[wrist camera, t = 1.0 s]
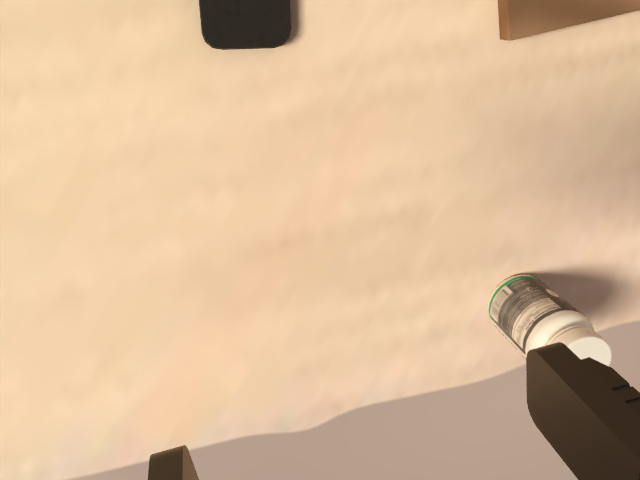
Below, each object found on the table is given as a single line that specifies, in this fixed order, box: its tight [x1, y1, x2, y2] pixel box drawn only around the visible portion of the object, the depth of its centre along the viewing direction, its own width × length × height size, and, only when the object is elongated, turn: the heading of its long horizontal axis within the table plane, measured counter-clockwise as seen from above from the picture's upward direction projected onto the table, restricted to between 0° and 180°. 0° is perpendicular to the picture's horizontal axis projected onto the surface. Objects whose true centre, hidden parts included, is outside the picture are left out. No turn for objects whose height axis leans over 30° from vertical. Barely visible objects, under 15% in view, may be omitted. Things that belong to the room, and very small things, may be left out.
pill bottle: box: [488, 275, 612, 366], centre depth 40 cm, size 5×5×8 cm
